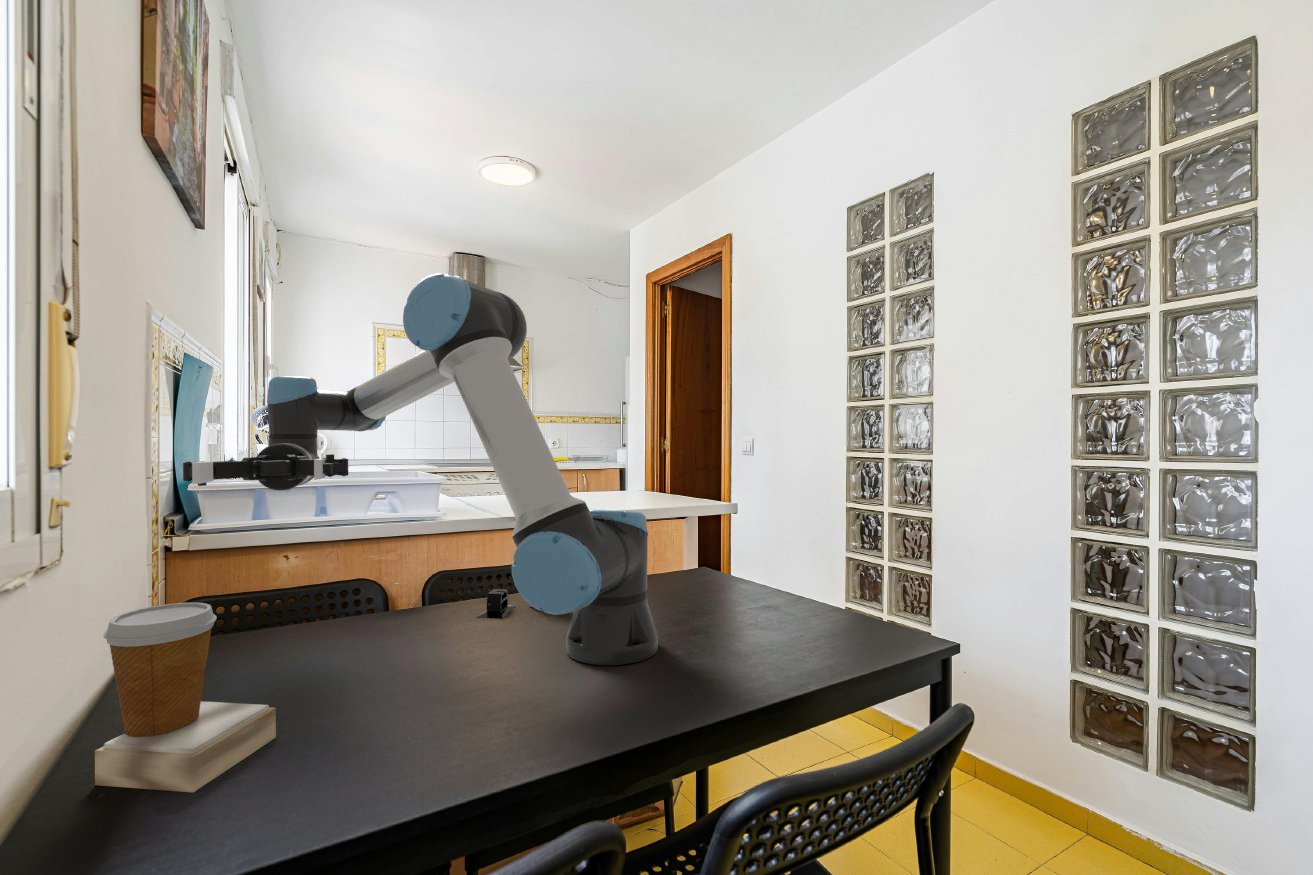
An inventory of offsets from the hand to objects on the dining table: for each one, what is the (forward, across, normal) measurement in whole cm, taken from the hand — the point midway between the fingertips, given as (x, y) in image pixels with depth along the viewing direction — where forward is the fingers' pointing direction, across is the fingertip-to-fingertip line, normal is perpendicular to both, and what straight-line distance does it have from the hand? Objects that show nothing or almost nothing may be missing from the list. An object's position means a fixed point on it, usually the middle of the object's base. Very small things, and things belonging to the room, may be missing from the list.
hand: (258, 471), depth 80 cm
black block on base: (-31, -35, -32) cm, 56 cm away
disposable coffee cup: (+12, +7, -27) cm, 30 cm away
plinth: (+13, +4, -31) cm, 34 cm away
